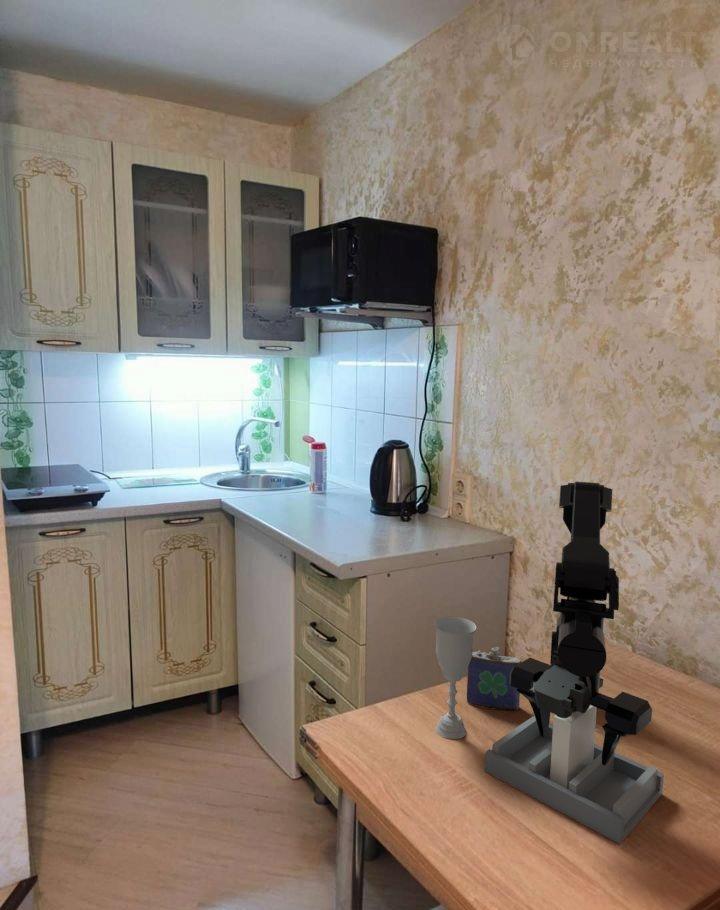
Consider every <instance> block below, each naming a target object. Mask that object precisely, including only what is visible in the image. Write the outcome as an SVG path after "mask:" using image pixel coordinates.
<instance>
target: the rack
mask: <svg viewBox="0 0 720 910" xmlns="http://www.w3.org/2000/svg"><path fill="white" fill-rule="evenodd" d="M552 735H553V724H551V723H549V728H548V732H547V735H546V736H545V737H542V736H541V734H540V731H539V728H538V725H537V721H536V718H535V715H532V716H531V717H530V718H529V719H527V720H526V721H524V722H523V723H521V724H519V725H518V726H517V727H515V728H514V729H512V730H511V731H510V732H508V733H507V734H505V735H504V736H502V737H501V738H499V739H498V740H496V741H495V742H493V743H492V748H491V749H490V748H488V749H487V750H486V751H485V753H484V754H485V756H484V772H486V773H488V774H489V775H492V776H493V777H495V778H497V779H499V780H500V781H503V782H504V783H506V784H508V785H510V786H512V787H514V788H516V789H517V790H519V791H521V792H523V793H525V794H526V795H528V796H530V797H532V798H533V799H535V800H538V801H540V802H541V803H543V804H545V805H547V806H548V807H550V808H552V809H554V810H556V811H558V812H560V813H562V814H563V815H565V816H567V817H568V818H571V819H572V820H574V821H576V822H578V823H580V824H582V825H583V826H585V827H587V828H589V829H590V830H592V831H595V832H596V833H598V834H599V835H602V836H603V837H606V838H607V839H609V840H611V841H612V842H615V843H616V844H618V845H621V843H622V842H623V841H624V840H625V839H626V838H627V837H628V835H629V834H630V833H631V831H632V830H633V829H634V828H635V827H636V826H637V824H638V823H639V822H640V821H641V820H642V819H643V817H644V816H646V814H647V813H648V811H649V810H650V809H651V808H652V806H654V804H655V803H656V802H657V801H658V800H659V798H661V796H662V795H663V787H664V775H665V774H664V773H662V772H661V771H658V770H659V769H658V768H657V767H654V766H653V765H649V766H646V765H644V764H642V763H639V762H637V761H635V760H632V759H630V758H628V757H626V756H625V755H621V754H619V753H617V752H616V749H615V750H614V752H613V754H612V756H611V758H610V760H609V761H608V763H607V764H606V765H605V766H604V765H602V750H603V746H601V745H599V744H596V743H594V755H593V761H592V762H591V763H590V764H589V765H588V766H587V767H586V768H585V769H583V770H582V771H581V772H580V773H579V774H578V775H577V776H576V777H575V778H573V779H572V780H571V781H570V782H569V789H567V788H565V787H563V786H561V785H559V784H557V783H555V782H553V781H551V780H550V769H551V752H552Z"/></svg>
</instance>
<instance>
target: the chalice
mask: <svg viewBox="0 0 720 910" xmlns="http://www.w3.org/2000/svg"><path fill="white" fill-rule="evenodd" d="M433 625H434V629H435V630H436V637H435V638H436V639H435V640H436V641H435V655H436V657H437V662H438V665H439V667H440V670H441V672H442V674H443V677H444V678H445V680H447V681H449V686H448V687H449V688H448V689H447V693H448V694H449V698H448V699H447V701H446V703H447V705H448V711H447V712H445V713H443V714H442V715H441V716H440V718H439V720H438V722H437V725H436V726H435V732H436V733H437V734H438V735H439V736H441V737H442V738H445V739H450V740H459V739H462V738H464V737H465V736H466V734H467V729H466V727H465V724H464V721H463V718H462V717H461V716H460V715H459V714H457V713H456V712H455V708H456V705H457V704H458V701H457V699H456V696H457V693H458V690H457V687H456V683H457V682H460V681H461V680H462V678H463V677H464V675H465V673H466V672H467V671H468V666H469V663H470V660H471V658H472V652H473V646H474V634H475V631H476V630H477V625H476V623H475V622H474V621H472V620H470V619H467V618H464V617H460V616H442V617H438V618H436V619H435V620H434V622H433Z"/></svg>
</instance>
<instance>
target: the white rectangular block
mask: <svg viewBox="0 0 720 910" xmlns="http://www.w3.org/2000/svg"><path fill="white" fill-rule="evenodd" d="M597 709H598V708H597V707H594V706H592V705H590V706H589V708H588V709H587V711H586V712H585V713H584V714H583V713H580V712H578V711H576V712H575V713H572V714H571V716H570V717H568V718H560V717H558V716H557V715H555V714H554V716H553V720H552V725H553V735H552V752H551V769H550V780H551V781H553V782H555V783H557V784H559V785H561V786H563V787H565V788H567V789H569V782H570V781H571V780H572V779H573V778H575V777H576V776H577V775H578V774H579V773H580V772H581V771H582V770H583V769H585V768H586V767H587V766H588V765H589V764H590V763H591V762H592V761H593V755H594V744H595V742H596V741H595V739H596V727H597V726H596V725H597Z"/></svg>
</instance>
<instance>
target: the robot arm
mask: <svg viewBox="0 0 720 910" xmlns="http://www.w3.org/2000/svg"><path fill="white" fill-rule="evenodd" d="M558 504H559V505H558V508H559V509H562V511H563V512H562V521H563V522H564V525H565V526H566V528H567V530H568V532H569V533H570V541H569V542H568V543H567V544H566V545H564V546H563V548H562V549H561V550H562V552H561V562H560V561H559V562H557V561H556V564H555V575H554V576H555V577H554V578H555V579H554V591H553V606H552V607H553V608H552V611H553V612H555V613H560V614H559V616H558V618H557V620H556V630H555V631H551V646H550V661H549V662H550V664H549V663H546V662H544V661H541V660H538V659H535V658H532V657H528V658H527V659H526V658H525V660H522V661H521V663H519V664H518V665H516V666H514V667H513V668H512V669H511V671H510V679H509V683H510V685H511V686H513V687H515V688H517V692H518V693H520V695H521V696H523V697H524V698H526V699H527V700H528V702H529V703H530V707H531V709H532V711H533V714H534V715H535V718H536V721H537V725H538V728H539V731H540V734H541V736H542V737H545V736H546V735H547V732H548V728H549V724H550V721H551V714H553V715H554V716H555V715H557V716H558V717H560V718H568V717H570V716H571V714H572V713H575V712H576V711H578V712H580V713H583V714H584V713H585V712H586V711H587V709H588V708H589V706H590V705H592V706H594V707H597V709H600V710H602V711H603V712H605V713H604V720H605V721H606V723H604V724H603V725H602V729H603V731H604V736H603V737H604V738H603V744H602V745H603V746H602V747H603V750H602V765H604V766H605V765H606V764H607V763H608V761H609V760H610V758H611V756H612V754H613V752H614V750H615V751H616V748H617V747H618V744H619V743H620V741H621V739H622V738H623V737H628V736H637V735H638V734H639V733H640V732H641V731H642V730H643V729H644V728H646V727H647V726H648V725H649V724H650V723H651V722H652V719H653V708H652V706H651V705H650V703H649V701H648V700H647V699H644V698H641V697H639V696H636V695H633V694H630V693H628V692H625V691H621V692H620V693H619V694H618V695H616V696H615V697H611V696H608V695H606V694H603V693H600V689H601V688H602V687H603V686H604V679H603V678H601V671H602V670H603V669H604V667H605V666H606V662H607V648H606V641H605V638H606V637H605V634H604V623H605V622H604V620H605V619H609V620H615V619H614V618H615V611H619V606H620V603H619V602H620V594H619V593H620V586H619V585H620V579H619V576H618V575H617V571H616V570H615V567H614V568H613V567H610V566H611V565H610V563H611V562H610V551H608V550H607V549H606V548H605V547H604V546H603V545H602V544H601V529H602V528H603V527H604V526H605V525H606V522H607V521H606V519H607V513H611V511H612V505H613V488H610V487H606V486H605V485H604V484H600V483H599V482H589V481H588V482H587V481H574V482H567V484H564V485H560V488H559V503H558ZM559 594H560V596H562V597H565V598H561V599H560V601H559ZM607 600H608V607H607V604H606V603H600V602H604V601H605V602H606V601H607ZM596 601H599V602H596ZM534 715H533V716H534Z"/></svg>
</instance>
